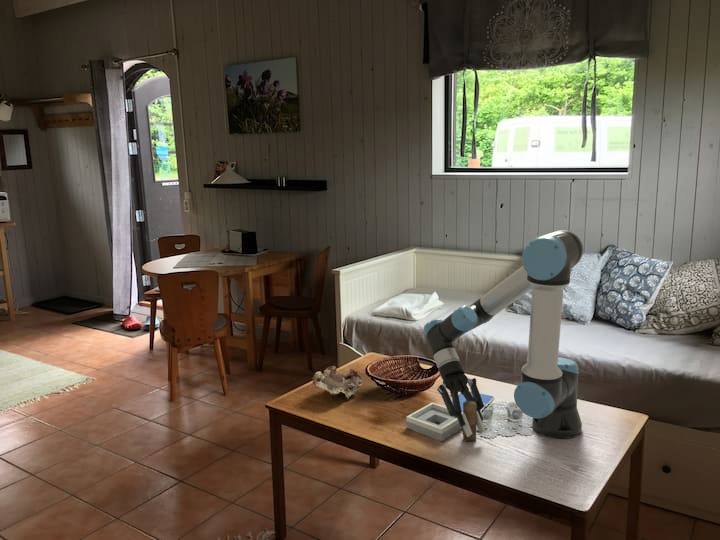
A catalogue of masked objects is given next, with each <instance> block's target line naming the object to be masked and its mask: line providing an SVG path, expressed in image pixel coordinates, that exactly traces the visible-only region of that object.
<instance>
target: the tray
mask: <svg viewBox="0 0 720 540" xmlns="http://www.w3.org/2000/svg"><path fill="white" fill-rule="evenodd" d="M462 414H463V412H462ZM405 418H406V429H408V430H411V431H414V432H416V433H419V434H422V435H425V436H427V437H428V438H431V439H434V440H437V441H440V442H443V441H444V440H447V439H448V438H449V437H451V436H452V435H454V434H455V433H457V432H459V431H460V430H463V426H460V424H459V421H458V419H457V418H455V416H450V415H449V412H448V410H447V407H446V405H445V406H444V405H442V404H438V403H435V402H431V403H428V404H427V405H425V406H424V407H423V406H422V407H421V408H420V409H417V410H416V411H415V412H412V413H410V414H409V415H407V416H406V417H405ZM434 422H436V423H434ZM437 423H439V424H437Z"/></svg>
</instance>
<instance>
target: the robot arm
mask: <svg viewBox="0 0 720 540" xmlns="http://www.w3.org/2000/svg"><path fill="white" fill-rule="evenodd" d="M583 254H584V247H583V242H582V241H581V239H580V238H579V236H578V235H577V234H576V233H574V232H572V231H569V230H565V229H564V230H563V229H561V230H559V229H558V230H555V231H552V232H550V233H548V234H543V235H539V236H537V237H535V238H533V240H531V241H530V242H528V244H527V245H526V246H525V247H524V249H523V252H522V255H521V256H522V257H521V263H522V266H520V267H519V268H518V269H516V270H515V271H514V272H512V273H511V274H510V275H509V276H506V278H504V279H503V280H502V281H501V282H499V283H498V284H497V285H495V286H494V287H493V288H492V289H490V290H489V291H487V292H486V293H485V294H484V295H482V296H481V297H479V298H478V299H477V300H476V301H474V302H473V303H472V304H469V305H462V306H459V308H457V309H455V310H454V311H453V312H452V313H450V314H449V315H448V316H447V317H446V318H444V319H440V318H435V319H432V320H431V321H429V322H427V323H425V325H424V327H423V332H424V336H425V340H426V342H427V344H428V346H429V349H430V351H431V353H432V357H433V359H434V361H435V364H436V367H437V368H438V373H439V375H440V377H441V379H442V384H439V385H438V387H437V388H436V390H437V392H438V393H439V394H440V396H441V398H442V400H443V402H444V403H443V404H444V405H445V407H447V410H448V412H449V415H450V416H455V418H457V419H458V421H459V424H460V426H463V428H464V431H465V433H466V436H467V437H469V436H471V435H472V434H473V433H472V431H471V428H470V426H469V423H468V421H467V418H466V416H465V414H462V411H461V406H460V401H459V396H458V394H459V393H460V392H461V394H462V395H464V397H465V399H466V400H467V401H473V402H475V403H476V429H478V432H479V435H483V434H484V433H485V432H486V428H485V425H484V422H483V421H484V417H483V414H482V413H481V412H480V410H481V409H482V408H483V407H484V404H483V401H482V399H481V396H480V394H481V393H480V390H479V388H478V385H477V378H475V377H474V378H468V376H467V375H466V374H465V370H464V368H463V366H462V363H461V361H460V357H459V356H458V353H457V351H456V348H455V346H454V345H455V344H454V343H453V342H456V341H457V340H458V339H460V337H462V336H463V335H465V334H466V333H468V332H470V331H472V330H473V329H476V328H477V327H481V325H484V324H486V323H488V322H490V321H491V320H492V319H493V318H494V317H495V316H497V314H499V313H500V312H502V311H503V310H504V309H506V308H507V307H509V306H510V305H512V304H514V302H516V301H518V300H519V299H520V298H521V297H523V296H524V295H526V294H527V293H528V292H531V299H530V313H529V314H530V315H529V330H528V343H527V344H528V345H527V348H528V349H527V359H526V363H525V364H524V365H523V366H522V367H521V372H520V383H519V384H518V385H516V386H515V389H514V392H513V399H514V400H513V401H514V403H515V405H516V407H518V408H519V410H520V411H521V413H523V414H524V415H526V416H528V417H530V418H532V420H531V422H532V424H531V425H532V428H533V430H534V431H535V432H536V433H538V434H539V435H542V436H544V437H547V438H553V439H561V440H562V439H563V440H564V439H572V438H575V437H578V436H580V434H581V433H582V429H583V423H582V419H581V416H580V413H579V409H578V405H577V404H578V388H579V387H578V386H579V374H580V371H579V364H578V363H577V362H576V361H575V360H572V359H569V358H566V357H561V356H559V349H560V339H561V324H562V315H563V314H562V312H563V310H562V309H563V299H564V289H565V288H566V287H567V286H569V285H570V282H571V270H572V268H574V267H575V266H577V265H578V263H579V262H580V261H581V259H582V257H583ZM448 390H449V392H448ZM470 392H472V395H473V396H472V395H471V393H470ZM449 393H450V394H449ZM473 397H474V398H473ZM452 400H453V403H452ZM463 428H462V429H463Z"/></svg>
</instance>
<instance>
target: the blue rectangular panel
mask: <svg viewBox="0 0 720 540" xmlns="http://www.w3.org/2000/svg"><path fill="white" fill-rule="evenodd" d="M470 393H471V395H472V392H471V391H470ZM458 396H459V401H460V406H461V411H462V412H463V403H464V402H465V401H467V400H466V399H465V397H464V395H462V394H461V392H458ZM472 396H473V395H472ZM480 396H481V399H482V401H483V403H485V404H489V405H490V404H491V403H492V401H493V400H494V399H495V396H493V395H489V394H485V393H480ZM473 398H474V397H473ZM451 401H452V403H453V400H452V399H451Z"/></svg>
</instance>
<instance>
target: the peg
mask: <svg viewBox="0 0 720 540" xmlns="http://www.w3.org/2000/svg"><path fill="white" fill-rule="evenodd" d="M463 414H465V416H466V418H467V421H468V423H469V426H470V428H471V431H472V433H473V434H472V435H471V436H469V437H467V436H466V433H465V431H464V428H462V438H463V439H462V440H463V441H464V442H465V443H468V444H470V443H475V442H477V425H476V403H475V402H473V401H465V402H464V403H463Z"/></svg>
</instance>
